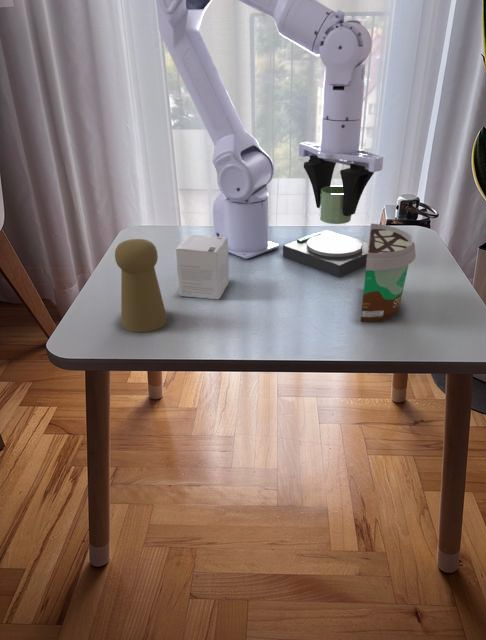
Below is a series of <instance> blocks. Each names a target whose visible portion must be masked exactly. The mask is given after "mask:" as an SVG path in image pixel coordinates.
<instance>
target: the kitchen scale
mask: <svg viewBox="0 0 486 640" xmlns="http://www.w3.org/2000/svg"><path fill="white" fill-rule="evenodd" d="M368 248H369V242H367V241H364V240H361V239H358V238H356V237H354V236H351V235H346V234H340V233H338V232H335V231H331V230H328V229H325V230H321V231H319V232H314V233H311V234H308V235H306V236H301V237H299V238H296V240H294V241H291V242H288V243H286V244H283V245H282V257H283V258H286V259H288V260H291V261H294V262H296V263H300V264H302V265H304V266H307V267H310V268H313V269H315V270H318V271H320V272H323V273H326V274H327V275H331V276H333V277H337V278H341V277H343V276H346V275H348V274H350V273H352V272H354V271H356V270H358V269H361V268H363V267H366V262H367V253H368Z"/></svg>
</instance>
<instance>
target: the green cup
mask: <svg viewBox="0 0 486 640" xmlns="http://www.w3.org/2000/svg"><path fill="white" fill-rule="evenodd" d="M343 197H344V193H343V185H331V186H327V187H323V188H322V189H321V195H320V208H319V221H321V222H323V223H326V224H331V225H343V224H347V223H350V222H351V220H352V215H350V216H344V215H343Z"/></svg>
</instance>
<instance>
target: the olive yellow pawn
mask: <svg viewBox="0 0 486 640" xmlns="http://www.w3.org/2000/svg"><path fill="white" fill-rule="evenodd" d="M158 258H159V257H158V250H157V247H156V245H155V244H154V243H153V242H152V241H150V240H148V239H143V238H131V239H127V240H123V241H122V242H120V243H119V244H117V246H116V248H115V250H114V260H115V263H116V265H117V267H118V268H119V269H120V270H121V277H120V279H121V286H120V287H121V288H120V291H121V292H120V293H121V294H120V295H121V296H120V298H121V300H120V301H121V302H120V305H121V307H120V308H121V310H120V314H121V315H120V319H121V320H120V324H121V327H122V328H123V329H124V330H126V331H128V332H132V333H149V332H153V331H157V330H159V329H161V328H163V327H164V326H165V325H167V322H168V317H167V312H166V309H165V305H164V300H163V296H162V292H161V288H160V284H159V280H158V276H157V272H156V268H155V266H156V265H157V263H158Z"/></svg>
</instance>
